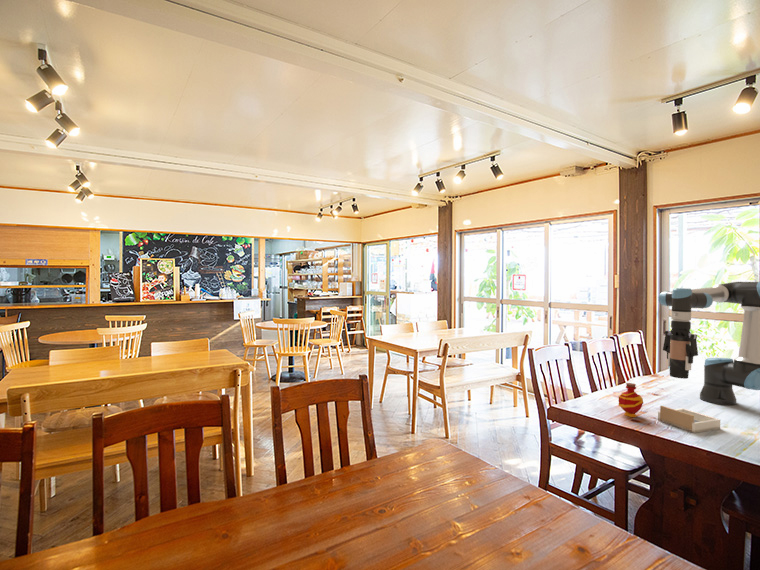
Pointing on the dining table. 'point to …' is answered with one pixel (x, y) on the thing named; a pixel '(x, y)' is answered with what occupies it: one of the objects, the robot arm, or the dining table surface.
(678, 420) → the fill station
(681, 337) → the travel mug
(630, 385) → the potion bottle
